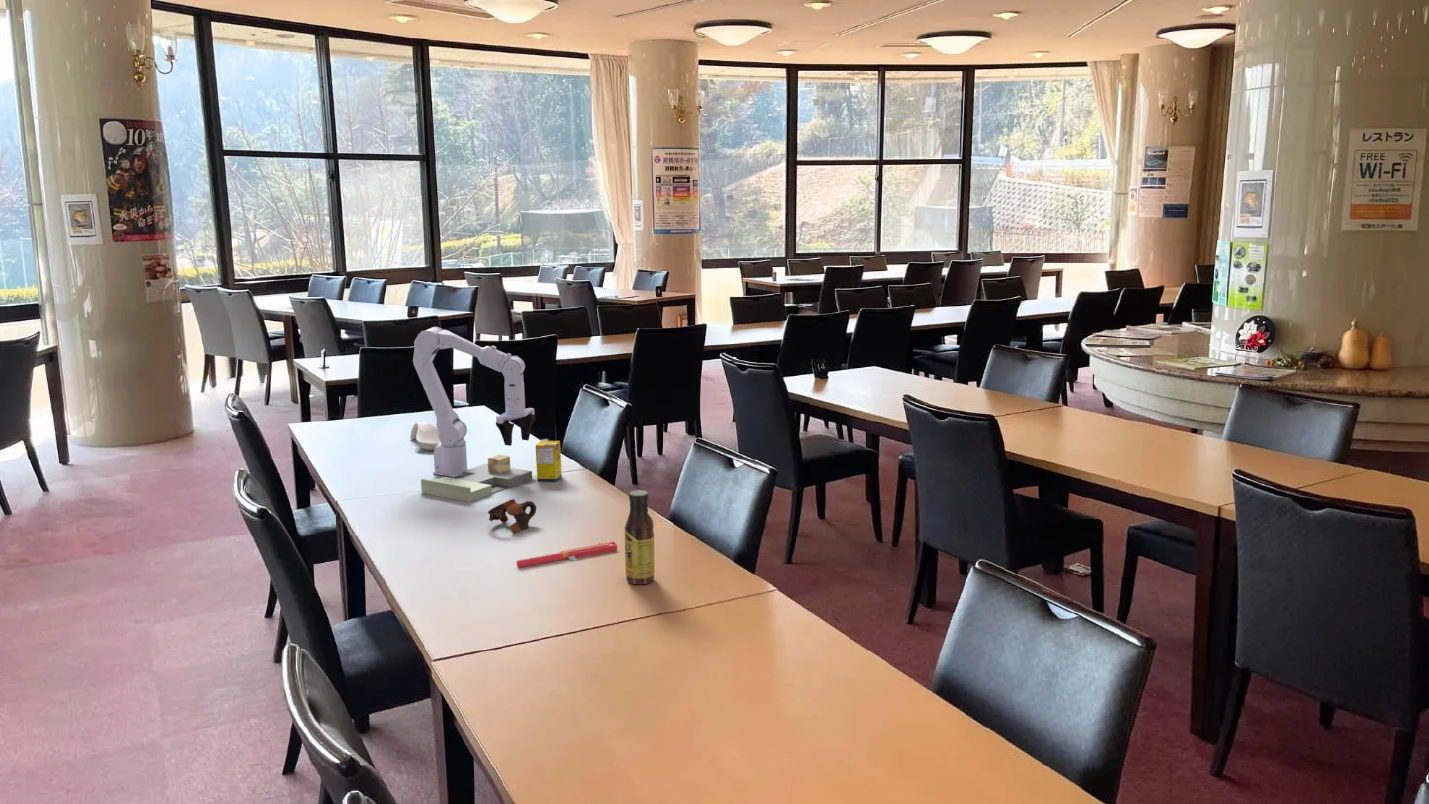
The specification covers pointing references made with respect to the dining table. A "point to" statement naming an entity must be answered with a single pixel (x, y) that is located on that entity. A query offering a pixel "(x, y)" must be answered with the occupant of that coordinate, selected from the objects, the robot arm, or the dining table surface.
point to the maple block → (499, 463)
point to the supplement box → (548, 461)
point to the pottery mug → (514, 510)
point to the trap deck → (475, 483)
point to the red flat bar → (568, 554)
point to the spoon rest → (425, 435)
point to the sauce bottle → (639, 540)
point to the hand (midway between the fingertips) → (516, 442)
